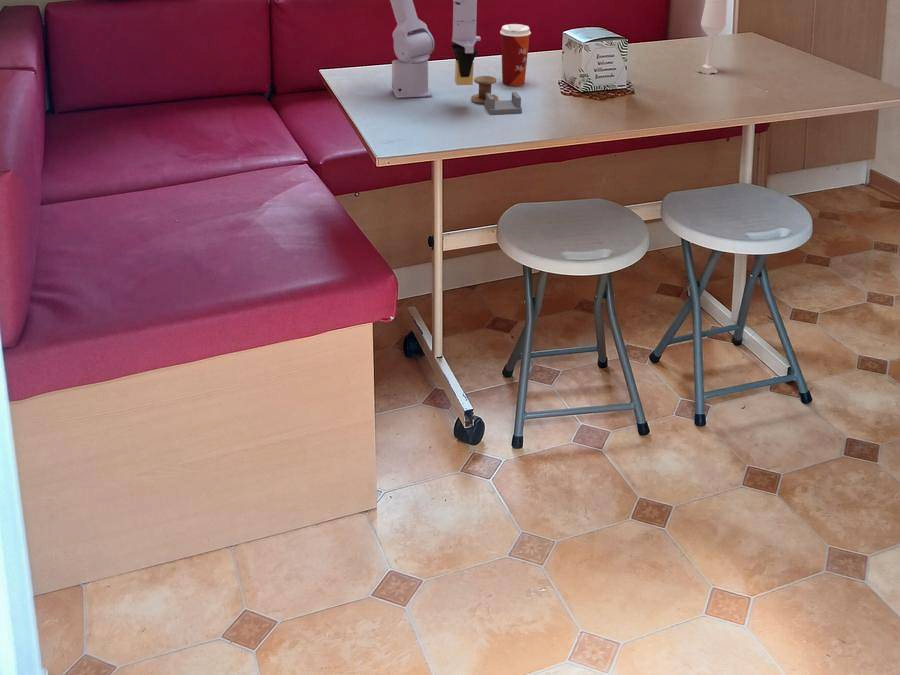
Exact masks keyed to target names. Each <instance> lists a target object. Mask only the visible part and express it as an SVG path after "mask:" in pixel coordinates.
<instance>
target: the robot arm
mask: <svg viewBox="0 0 900 675" xmlns="http://www.w3.org/2000/svg"><path fill="white" fill-rule="evenodd" d="M452 1H453V3H452V4H453V7H452V10H453V11H452V13H453V14H452V37H451V41H452V43H450V46H451V48H452V51H453V53H454V57H455V61H456V60H458V63H459V71H460V76H461V77H469V75H470V72H471V67H472V63H474V60H475V58H476V57H477V54H478V52H479V51H478V48H475V45H476V43H477V42H480V41H481V39H482V38H481V36H480V35H479V36H478V35H477V18H478V17H477V14H478V13H477V11H478V10H477V9H478V8H477V7H478V0H452ZM389 2H390V4H391V8H392V11H393V15H394V18H395V21H396V23H397V24H396V27H395V28H394V30H393V31H392V36H391V37H392V39H393V50H394V51H393V52H394V54H395V56H396V58H397V59H394V60H392V62H391V80H392V81H391V90H392V93H393V95H394V96H395V99H401V98H402V99H404V98H422V97H424V98H426V97H432V93H431V91H430V89H429V59H430V58H431V54H432V53H433V51H434V49H435V39H434V37H433V35H432V33H431V32H430V30H429V29H428V25H427V24H426V23H425V22H424V21H422V20H421V19H419V18H418V14H417V11H416V7H415V4H414V0H389ZM408 33H409V34H408Z"/></svg>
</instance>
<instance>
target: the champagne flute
mask: <svg viewBox="0 0 900 675" xmlns="http://www.w3.org/2000/svg"><path fill="white" fill-rule="evenodd" d="M727 1H728V0H705V2H704V6H703V7H704V8H703V12H702V16H701V21H700V27H701V28H702V31H703V32H704V33H705V35H707V36H708V43H707V44H708V45H707V50H706V59H705V64H703V65H702V66H703V67H705V68H711V67H712V66H713V65H711V58H712V50H713V45H714V44H713V43H714V37H716V36H718V35H719V34H720V33H721V32H722V31H723V30H724V29H725V27H726V25H727V24H726V22H727V4H728V3H727Z"/></svg>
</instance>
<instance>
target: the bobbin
mask: <svg viewBox="0 0 900 675" xmlns="http://www.w3.org/2000/svg"><path fill="white" fill-rule="evenodd" d="M473 83H475V84H478V93H476V94H473V95H471V97H470V98H471V99H470V102H472V103H473V104H476V105H481V106H482V105H484V106H485V101H486V93H491V94H492V96H493V97H494V98H495V101H499V96H498V95H496V94H493V93H492V85H493V84H496V83H497V78H496V77H493V76H491V75H481V76H480V75H479V76H476V77H473Z"/></svg>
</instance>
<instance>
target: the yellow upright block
mask: <svg viewBox="0 0 900 675" xmlns="http://www.w3.org/2000/svg"><path fill="white" fill-rule="evenodd" d="M454 69H455V70H454V83H455V84H456V86H473V84H474V62H473V63H472V67H471V72H470V75H469V77H461V76H460V71H459V63H458V60H456V59H455V67H454Z"/></svg>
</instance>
